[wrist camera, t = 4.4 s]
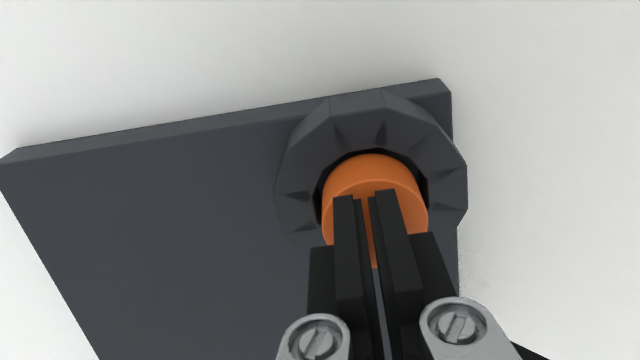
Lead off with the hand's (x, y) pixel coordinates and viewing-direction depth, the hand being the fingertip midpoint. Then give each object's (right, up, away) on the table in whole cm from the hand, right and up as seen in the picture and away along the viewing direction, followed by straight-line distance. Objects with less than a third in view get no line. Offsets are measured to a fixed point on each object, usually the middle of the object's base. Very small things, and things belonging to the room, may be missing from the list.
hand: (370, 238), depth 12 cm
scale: (-4, -2, +7) cm, 8 cm away
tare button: (0, +1, +2) cm, 2 cm away
